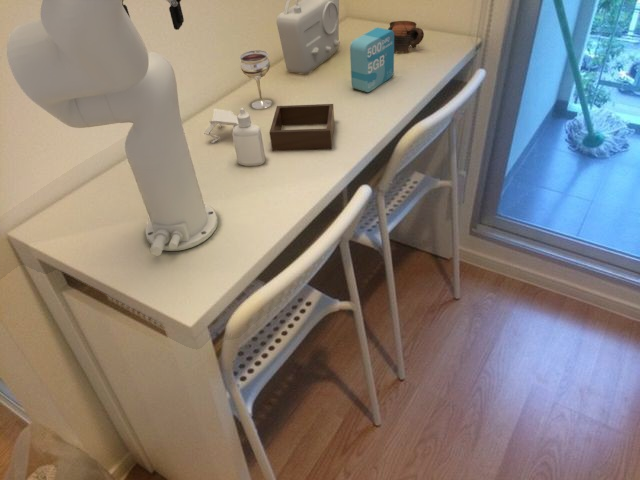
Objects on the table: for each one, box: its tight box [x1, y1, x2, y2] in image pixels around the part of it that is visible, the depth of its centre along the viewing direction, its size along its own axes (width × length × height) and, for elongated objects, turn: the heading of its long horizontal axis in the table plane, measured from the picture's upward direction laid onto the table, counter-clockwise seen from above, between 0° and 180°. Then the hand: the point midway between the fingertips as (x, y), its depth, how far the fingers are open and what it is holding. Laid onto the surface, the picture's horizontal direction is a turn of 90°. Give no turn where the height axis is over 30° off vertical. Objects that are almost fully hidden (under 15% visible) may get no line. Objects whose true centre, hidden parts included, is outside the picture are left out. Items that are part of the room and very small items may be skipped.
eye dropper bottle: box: [231, 107, 266, 167], centre depth 106 cm, size 4×6×12 cm
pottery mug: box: [387, 20, 425, 53], centre depth 147 cm, size 12×10×8 cm
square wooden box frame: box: [269, 103, 335, 152], centre depth 114 cm, size 12×13×4 cm
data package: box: [349, 27, 395, 93], centre depth 129 cm, size 12×4×12 cm, turn 140°
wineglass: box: [239, 49, 272, 110], centre depth 125 cm, size 7×7×12 cm
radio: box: [276, 0, 341, 75], centre depth 138 cm, size 22×8×25 cm, turn 150°
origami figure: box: [203, 108, 239, 143], centre depth 116 cm, size 12×8×5 cm
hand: (153, 28), depth 98 cm, fingers open, 9 cm apart
